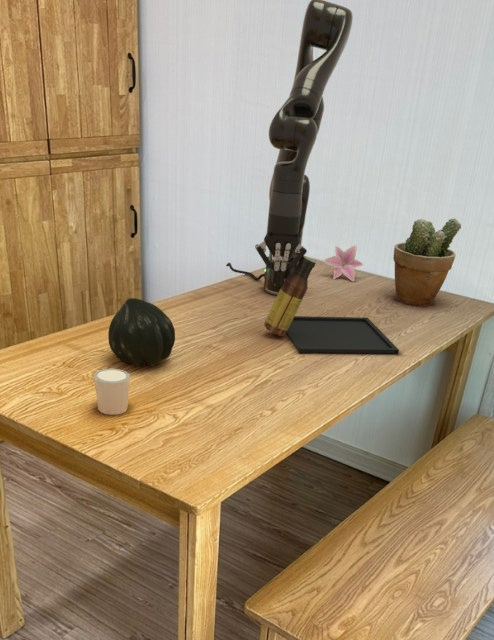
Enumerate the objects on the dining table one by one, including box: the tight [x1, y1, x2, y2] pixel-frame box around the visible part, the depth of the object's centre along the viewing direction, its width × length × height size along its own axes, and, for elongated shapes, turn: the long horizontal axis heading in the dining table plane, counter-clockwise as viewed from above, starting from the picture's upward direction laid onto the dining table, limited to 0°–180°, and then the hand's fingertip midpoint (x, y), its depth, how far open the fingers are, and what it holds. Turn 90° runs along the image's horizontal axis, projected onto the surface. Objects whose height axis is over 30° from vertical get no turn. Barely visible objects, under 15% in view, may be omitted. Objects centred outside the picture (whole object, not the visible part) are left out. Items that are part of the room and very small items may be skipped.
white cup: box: [93, 368, 131, 416], centre depth 135 cm, size 7×7×7 cm
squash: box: [107, 297, 176, 367], centre depth 155 cm, size 14×15×15 cm
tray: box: [285, 315, 400, 355], centre depth 183 cm, size 26×24×1 cm
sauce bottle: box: [263, 255, 317, 337], centre depth 175 cm, size 7×6×20 cm
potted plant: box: [392, 218, 462, 307], centre depth 211 cm, size 18×19×25 cm
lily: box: [323, 244, 364, 282], centre depth 232 cm, size 12×12×10 cm
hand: (277, 285), depth 173 cm, fingers closed
